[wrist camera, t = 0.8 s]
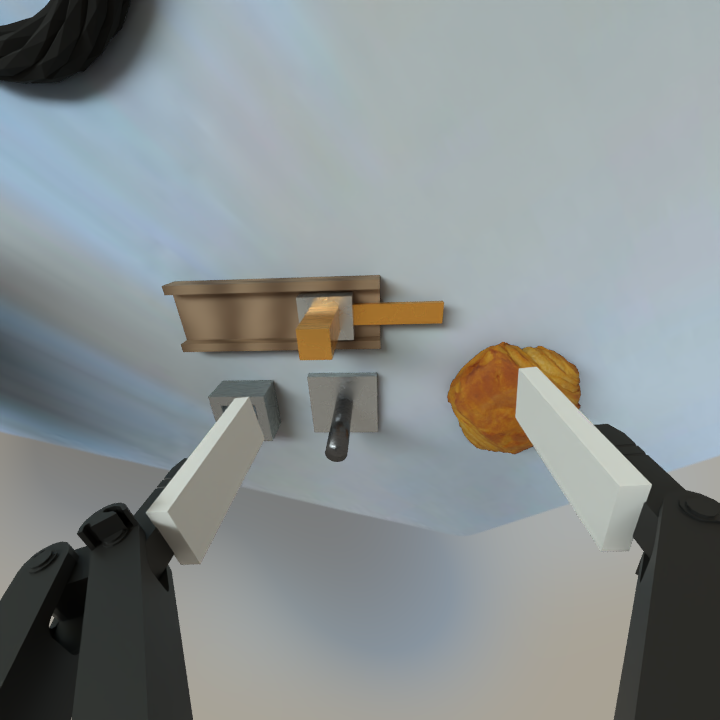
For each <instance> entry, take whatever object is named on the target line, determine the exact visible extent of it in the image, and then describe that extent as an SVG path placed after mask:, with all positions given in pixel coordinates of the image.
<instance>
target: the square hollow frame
mask: <svg viewBox="0 0 720 720" xmlns="http://www.w3.org/2000/svg"><path fill="white" fill-rule="evenodd" d="M242 397H249V398H250V401H251V404H252V405H255V408H256V412H257V415H256V417H257V420H258V422H259V425H260V428H261V430H262V433H263V436H264V438H265V439H264V441H273V439H274V437H275V435H276V432H277V430H278V428H279V426H280V423H281V419H280V414H279V409H278V404H277V398H276V393H275V388H274V383H273V380H258V381H222V382H221V383H220V385H219V386H218V387H217V388H216V389H215V390H214V391H213V392H212V394H211V395H210V396H209V397H208V398H209V401H210V404H211V407H212V411H213V414H214V417H215V420H216V422H217V421H218V419H219V418H220V417H221V416H222V414H223V413H224V412H225V410H226V409H227V408H228V407H229V405H230V404H231V403H232V401H233V400H234V399H235V398H242Z"/></svg>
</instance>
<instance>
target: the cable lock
mask: <svg viewBox="0 0 720 720" xmlns="http://www.w3.org/2000/svg"><path fill="white" fill-rule="evenodd" d="M130 1H131V0H50V1H49V3H48V4H47V5H46V6H45V7H44V8H43V9H42V10H41V11H39V12H38V13H37V14H36V15H35V16H33V17H31V18H28V19H25V20H21V21H18V22H15V23H11V24H8V25H3V26H0V80H4V81H11V82H18V83H26V84H27V83H30V82H31V83H52V82H61V81H62V80H64V79H66V78H68V77H70V76H72V75H74V74H76V73H78V72H82V71H85V70H86V69H87V68H88V67H89V66H90V65H91V64H92V63H93V62H94V61H95V60H96V59H97V58H98V57H99V56H100V55H101V54H102V53H103V51H104V49H105V48H106V46H107V45H108V43H109V41H110V40H111V39H112V38H113V37H114V36H115V35H116V34H117V33H118V31H119V30H120V29H121V28H122V27H123V23H124V20H125V17H126V14H127V11H128V8H129V5H130Z"/></svg>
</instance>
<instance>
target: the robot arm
mask: <svg viewBox="0 0 720 720" xmlns="http://www.w3.org/2000/svg"><path fill="white" fill-rule="evenodd" d="M515 418H516V419H517V421H518V422H519V424H520V426H521V427H522V429H523V430H524V432H525V433H526V435H527V437H528V438H529V440H530V441H531V443H532V444H533V446H534V448H535V449H536V451H537V452H538V454H539V455H540V457H541V459H542V460H543V462H544V463H545V465H546V466H547V468H548V470H549V471H550V473H551V474H552V476H553V477H554V479H555V481H556V482H557V484H558V485H559V487H560V488H561V490H562V492H563V493H564V495H565V496H566V498H567V499H568V501H569V503H570V504H571V506H572V507H573V509H574V510H575V512H576V513H577V515H578V516H579V518H580V520H581V521H582V523H583V524H584V526H585V528H586V529H587V531H588V532H589V534H590V535H591V537H592V539H593V540H594V542H595V543H596V545H597V546H598V548H599V550H600V551H601V552H614V551H629V549H630V546H631V544H632V541H633V538H634V539H635V540H636V541H637V543H638V544H639V545H640V547H641V548H642V550H643V551H644V552H643V555H642V557H641V560H640V563H639V565H638V568H637V570H636V574H637V575H638V581H637V586H636V592H635V598H634V604H633V610H632V616H631V622H630V628H629V633H628V639H627V646H626V651H625V657H624V663H623V669H622V674H621V680H620V687H619V693H618V698H617V704H616V710H615V716H614V720H720V503H718V502H717V501H715V500H714V499H711V498H709V497H707V496H704V495H702V494H699V493H695V492H691V491H687V490H685V489H684V488H683V487H682V486H680V484H678V483H677V482H676V481H675V480H674V479H673V478H672V477H671V476H670V475H669V474H668V473H667V472H666V471H664V470H663V469H662V468H661V467H660V466H659V465H658V464H657V463H656V462H655V461H654V460H653V459H652V458H650V457H649V456H648V455H646V454H645V452H644V451H643V450H642V449H641V448H640V447H639V446H636V444H635V443H634V442H633V441H632V440H631V439H630V438H629V437H628V436H627V435H626V434H625V433H623V432H621V431H620V430H618V429H616V428H614V427H612V426H610V425H609V424H600V425H593V424H592V423H591V422H590V421H589V420H588V419H587V418H586V417H585V416H584V415H583V414H582V413H581V412H580V411H579V410H578V409H577V407H576V406H575V405H574V404H573V403H572V402H571V401H570V400H569V399H568V398H567V397H566V396H565V395H564V394H563V393H562V392H561V391H560V390H559V389H558V388H557V387H556V386H555V385H554V384H553V383H552V382H551V381H550V380H549V379H548V378H547V377H546V376H545V375H544V374H543V373H542V372H541V371H540V370H539V369H538V368H537V367H528V368H519V373H518V387H517V401H516V414H515ZM264 439H265V438H264V436H263V433H262V430H261V428H260V425H259V422H258V420H257V417H256V414H255V412H254V409H253V406H252V404H251V401H250V398H249V397H242V398H235V399H234V400H233V401H232V403H231V404H230V405H229V407H228V408H227V409H226V410H225V412H224V413H223V414H222V416H221V417H220V418H219V419H218V421H217V422H216V423H215V425H214V426H213V427H212V428H211V430H210V431H209V432H208V434H207V435H206V436H205V437H204V439H203V440H202V441H201V443H200V444H199V445H198V446H197V448H196V449H195V450H194V451H193V453H192V454H191V455H190V457H189V458H184V459H183V460H182V461H180V462H179V463H178V464H177V465H176V466H174V467H173V468H172V469H171V470H170V472H169V473H168V474H167V475H166V477H165V478H164V480H162V482H161V483H160V484H159V485H158V486H157V487H158V488H157V489H155V490H154V492H153V493H152V494H151V495H150V496H149V498H148V499H147V500H146V501H145V502H144V504H143V505H142V506H141V507H140V509H139V510H138V511H137V512H136V514H135V515H134V516H133V515H132V513H131V512H130V510H129V509H128V507H127V506H126V505H125V504H123V503H116V504H111V505H109V506H106V507H104V508H102V509H100V510H99V511H97V512H95V513H94V514H93V515H92V516H91V517H89V518H88V519H87V520H86V521H85V522H84V523H83V524H82V526H81V527H80V528H79V531H78V533H77V535H78V536H79V537H80V538H81V539H82V540H83V541H84V543H85V544H86V545H87V546H86V547H83V548H79V549H76V550H74V549H73V548H72V547H71V546H70V545H69V544H68V543H67V542H59V543H55V544H52V545H50V546H48V547H46V548H44V549H42V550H41V551H39V552H38V553H36V554H35V555H34V556H32V557H31V558H30V559H29V560H28V561H27V562H26V563H25V564H24V565H23V566H22V567H21V569H20V570H19V571H18V573H17V574H16V576H15V578H14V579H13V581H12V582H11V584H10V586H9V587H8V589H7V591H6V592H5V594H4V595H3V597H2V599H1V600H0V720H71V718H72V720H193V716H192V710H191V703H190V695H189V688H188V682H187V675H186V667H185V661H184V654H183V647H182V640H181V633H180V626H179V620H178V612H177V605H176V598H175V591H174V585H173V578H172V571H171V569H170V567H169V565H168V563H169V562H170V560H171V558H172V557H173V555H175V557H176V558H177V560H178V561H179V563H180V564H181V565H184V564H185V565H186V564H187V565H188V564H201V562H202V560H203V558H204V556H205V554H206V552H207V550H208V548H209V546H210V544H211V542H212V540H213V539H214V537H215V535H216V533H217V531H218V529H219V527H220V525H221V523H222V521H223V519H224V517H225V515H226V513H227V511H228V509H229V507H230V505H231V504H232V502H233V500H234V498H235V496H236V494H237V492H238V490H239V488H240V486H241V484H242V482H243V480H244V478H245V476H246V474H247V472H248V470H249V468H250V466H251V465H252V463H253V461H254V459H255V457H256V455H257V453H258V451H259V449H260V447H261V445H262V443H263V441H264ZM51 616H53V617H54V620H53V622H52V624H51V626H50V627H49V623H50V619H51Z"/></svg>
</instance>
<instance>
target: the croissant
mask: <svg viewBox="0 0 720 720" xmlns="http://www.w3.org/2000/svg"><path fill="white" fill-rule="evenodd" d="M528 367H537V368H538V369H539V370H540V371H541V372H542V373H543V374H544V375H545V376H546V377H547V378H548V379H549V380H550V381H551V382H552V383H553V384H554V385H555V386H556V387H557V388H558V389H559V390H560V391H561V392H562V393H563V394H564V395H565V396H566V397H567V398H568V399H569V400H570V401H571V402H572V403H573V404H574V405H575V406H576V407H577V409H578V410H579V408H580V406H581V405H580V404H579V403H578V401H579V399H580V396H581V391H580V386H579V383H580V380H579V372H578V369H577V368H576V366H575V365H574V364H572V363H570V362H568V361H567V360H566V359H565V358H564V357H562V356H561V355H559V354H557V353H556V352H555V351H552V350H548V349H546V348H544V347H542V346H538V347H537V348H532V347H526V348H523V349H522V350H521V349H520V348H519V347H518V346H514V345H509V344H508V343H505V342H502V343H500V344H499V345H496V346H490V347H488V348H486V349H485V350H483V351H481V352H480V353H479V354H477V355H476V356H475V357H474V358H473V359H471V360H470V361H469V362H468V363H467V364H466V365H465V366H464V367H463V368H462V369H461V370H460V371H459V373H458V374H457V376H456V378H455V379H454V380H453V381H452V383H451V385H450V390H449V392H448V396H447V398H448V402H450V403H451V405H452V409H453V412H454V413H455V415H456V417H457V418H458V421H459V426H460V427H461V428H462V431H463V433H464V435H465V436H466V438H467V439H468V440H469V441H470V442H471V443H472V444H473V445H474V446H475V447H476V448H479V449H482V450H488V451H494V452H498V451H500V452H503V453H507V452H508V453H512V454H516V453H519V452H521V451H523V450H526V449H528V448H530V447H533V444H532V443H531V441H530V440H529V438H528V437H527V435H526V433H525V432H524V430H523V429H522V427H521V426H520V424H519V422H518V421H517V419H516V418H515V414H516V401H517V387H518V373H519V368H528Z"/></svg>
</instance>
